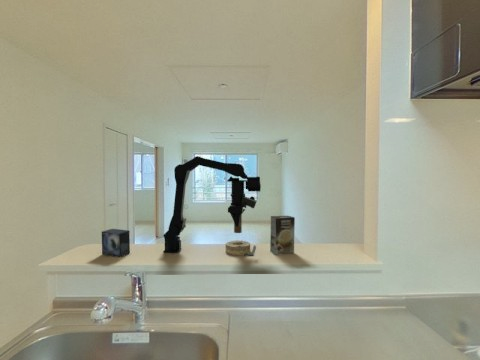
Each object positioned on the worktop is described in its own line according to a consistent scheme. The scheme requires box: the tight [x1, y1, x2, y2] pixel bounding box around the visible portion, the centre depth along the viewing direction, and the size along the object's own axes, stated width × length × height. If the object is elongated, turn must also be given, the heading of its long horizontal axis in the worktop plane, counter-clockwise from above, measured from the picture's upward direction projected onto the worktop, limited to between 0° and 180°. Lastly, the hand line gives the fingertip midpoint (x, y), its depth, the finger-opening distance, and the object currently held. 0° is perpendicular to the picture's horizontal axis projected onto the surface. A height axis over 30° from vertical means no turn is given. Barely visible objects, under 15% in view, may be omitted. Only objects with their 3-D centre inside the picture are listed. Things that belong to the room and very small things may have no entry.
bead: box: [225, 240, 251, 256], centre depth 129 cm, size 11×11×4 cm
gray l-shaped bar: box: [243, 245, 256, 257], centre depth 129 cm, size 4×14×1 cm, turn 173°
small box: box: [101, 228, 131, 258], centre depth 124 cm, size 11×6×10 cm, turn 68°
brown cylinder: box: [233, 213, 243, 234], centre depth 128 cm, size 3×3×10 cm
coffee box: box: [269, 215, 296, 256], centre depth 127 cm, size 9×6×16 cm
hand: (237, 225), depth 128 cm, fingers closed on brown cylinder, 3 cm apart
